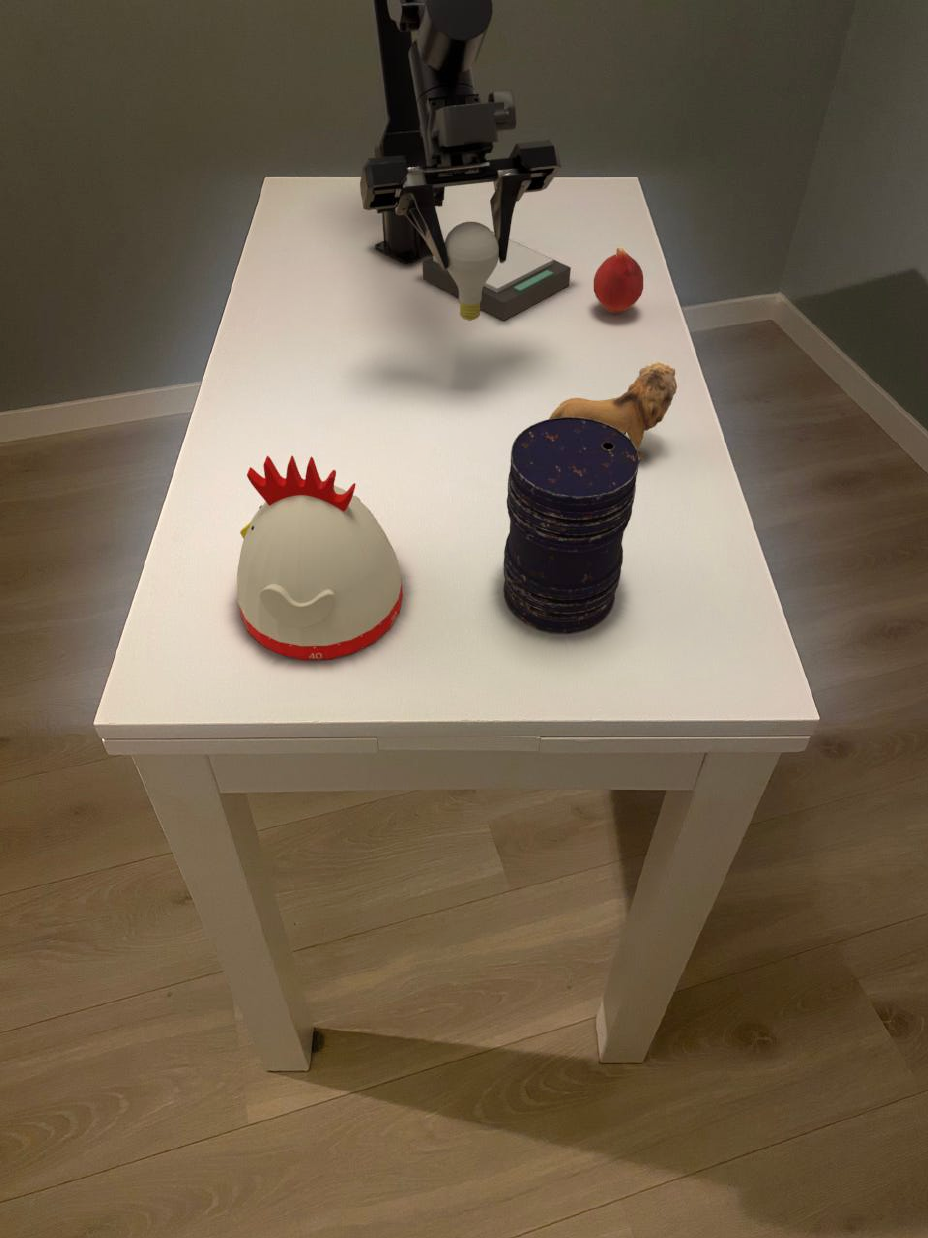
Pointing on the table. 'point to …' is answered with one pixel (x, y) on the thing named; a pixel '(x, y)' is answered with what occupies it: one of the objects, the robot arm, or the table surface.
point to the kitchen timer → (315, 567)
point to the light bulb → (471, 263)
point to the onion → (618, 282)
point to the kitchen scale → (509, 281)
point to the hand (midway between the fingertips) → (474, 265)
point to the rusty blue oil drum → (567, 522)
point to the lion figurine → (629, 404)
